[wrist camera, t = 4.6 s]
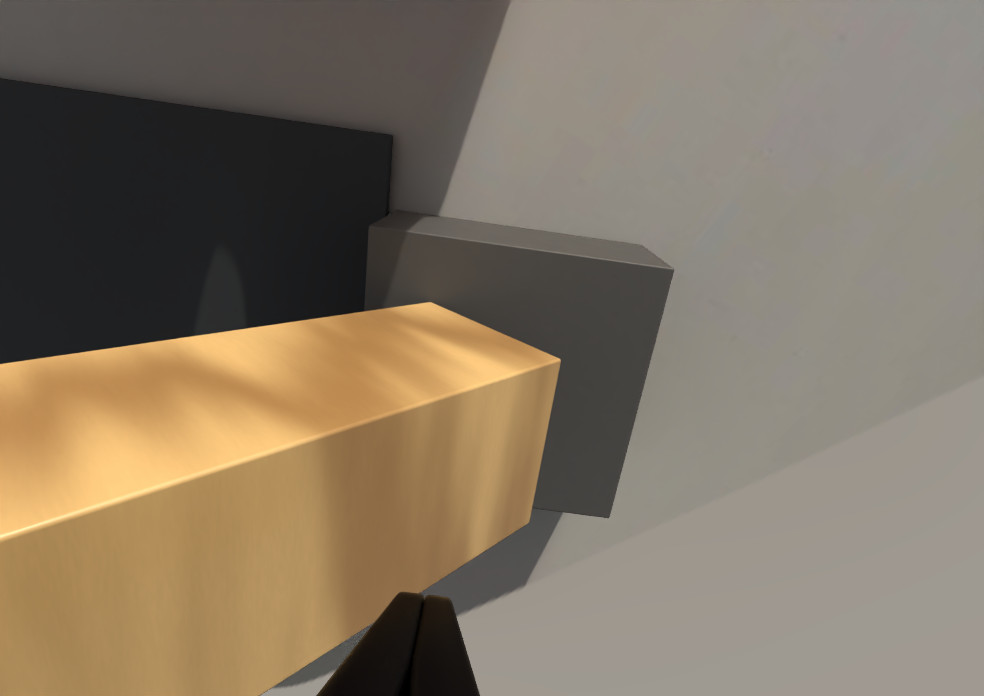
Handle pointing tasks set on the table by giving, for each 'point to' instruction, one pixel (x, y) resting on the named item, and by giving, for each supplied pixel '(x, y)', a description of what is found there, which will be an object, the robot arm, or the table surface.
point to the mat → (174, 220)
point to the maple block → (251, 494)
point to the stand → (542, 327)
